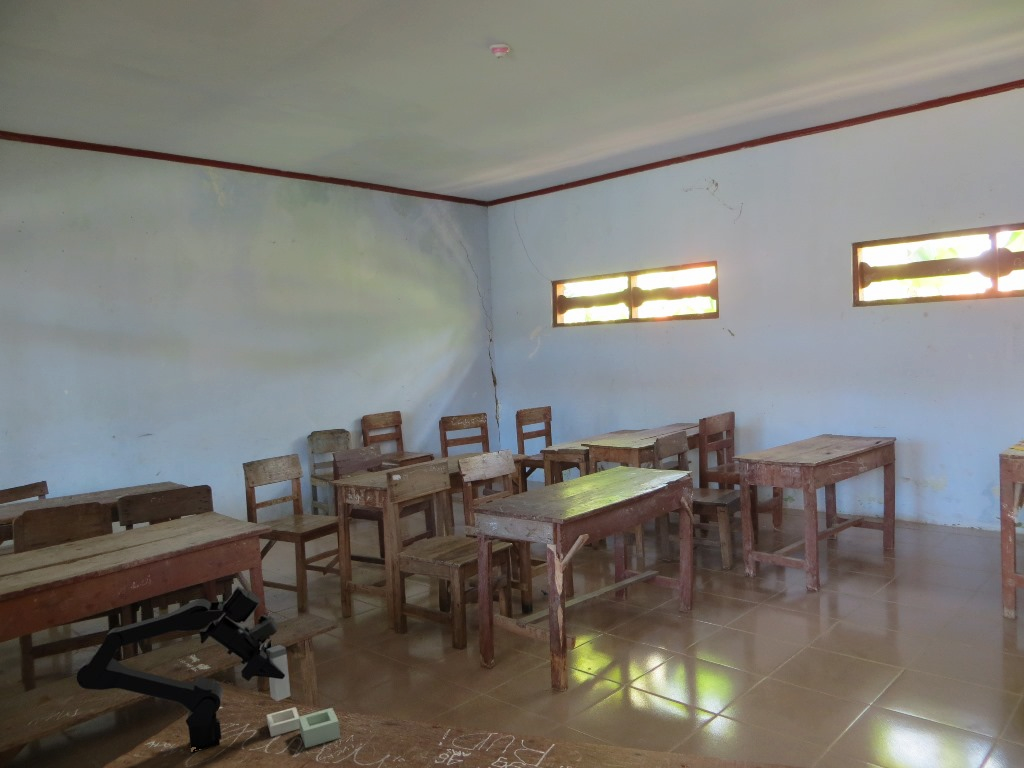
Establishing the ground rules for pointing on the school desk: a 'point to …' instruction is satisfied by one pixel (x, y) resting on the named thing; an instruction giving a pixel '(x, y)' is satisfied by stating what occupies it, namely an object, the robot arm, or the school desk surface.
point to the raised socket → (319, 727)
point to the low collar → (283, 721)
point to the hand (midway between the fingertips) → (284, 673)
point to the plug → (279, 658)
